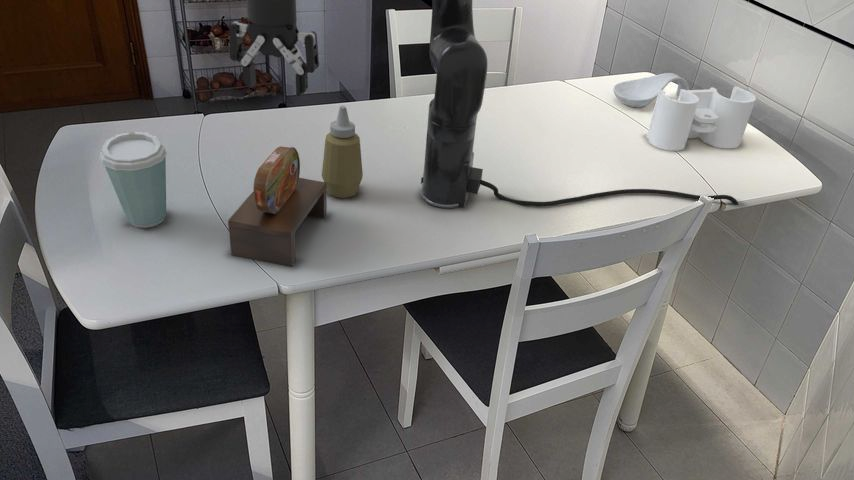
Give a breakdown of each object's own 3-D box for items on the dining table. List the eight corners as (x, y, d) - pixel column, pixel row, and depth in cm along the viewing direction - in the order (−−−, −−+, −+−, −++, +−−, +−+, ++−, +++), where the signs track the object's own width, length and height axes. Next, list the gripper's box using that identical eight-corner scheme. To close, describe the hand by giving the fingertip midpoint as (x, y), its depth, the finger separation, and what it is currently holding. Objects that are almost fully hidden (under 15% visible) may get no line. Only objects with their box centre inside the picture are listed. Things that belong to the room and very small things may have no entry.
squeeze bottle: (345, 206, 144) (346, 119, 133) (313, 192, 147) (311, 107, 136) (370, 190, 150) (373, 106, 139) (339, 177, 153) (339, 94, 142)
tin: (270, 223, 124) (267, 178, 119) (252, 219, 124) (248, 175, 119) (302, 182, 136) (300, 140, 131) (285, 179, 136) (284, 137, 131)
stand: (326, 214, 141) (326, 182, 137) (292, 266, 126) (290, 232, 122) (271, 204, 142) (269, 172, 138) (231, 254, 127) (227, 220, 123)
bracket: (661, 153, 177) (675, 105, 170) (641, 135, 184) (653, 88, 177) (748, 147, 184) (765, 101, 177) (725, 130, 192) (740, 86, 184)
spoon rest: (628, 114, 194) (635, 88, 190) (602, 97, 202) (607, 71, 198) (696, 105, 204) (704, 80, 200) (668, 89, 212) (675, 64, 208)
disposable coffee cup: (176, 232, 131) (164, 156, 122) (110, 237, 128) (93, 159, 119) (176, 202, 139) (165, 128, 130) (114, 206, 136) (99, 131, 127)
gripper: (216, -11, 111) (226, 92, 121) (306, 2, 110) (309, 105, 120) (236, -23, 118) (244, 76, 127) (322, -10, 116) (324, 88, 126)
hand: (276, 90), depth 123 cm, fingers open, 8 cm apart
